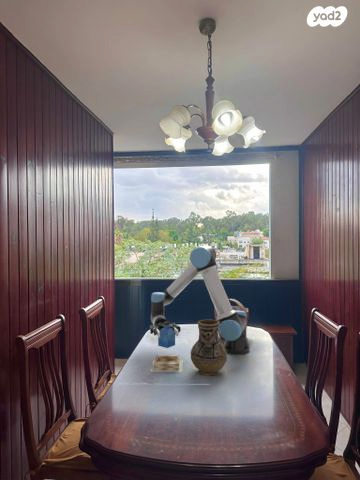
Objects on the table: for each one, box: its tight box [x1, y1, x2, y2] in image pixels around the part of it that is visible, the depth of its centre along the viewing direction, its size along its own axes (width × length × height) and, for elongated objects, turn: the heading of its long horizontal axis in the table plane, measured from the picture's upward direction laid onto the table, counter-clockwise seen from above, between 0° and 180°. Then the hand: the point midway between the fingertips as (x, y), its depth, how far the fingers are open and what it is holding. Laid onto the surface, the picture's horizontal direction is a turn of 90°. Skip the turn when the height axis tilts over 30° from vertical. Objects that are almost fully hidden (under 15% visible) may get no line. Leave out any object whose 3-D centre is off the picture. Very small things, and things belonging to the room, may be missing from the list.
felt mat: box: [149, 359, 184, 373], centre depth 179 cm, size 16×16×1 cm
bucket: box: [213, 298, 250, 342], centre depth 229 cm, size 24×22×25 cm
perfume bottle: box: [157, 321, 176, 349], centre depth 179 cm, size 6×6×12 cm
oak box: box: [154, 354, 180, 370], centre depth 179 cm, size 12×12×3 cm
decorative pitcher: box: [190, 318, 228, 376], centre depth 171 cm, size 22×18×25 cm
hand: (168, 334), depth 175 cm, fingers closed on perfume bottle, 9 cm apart
